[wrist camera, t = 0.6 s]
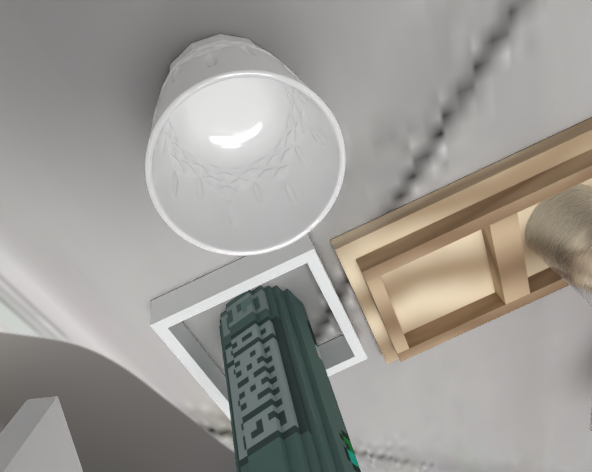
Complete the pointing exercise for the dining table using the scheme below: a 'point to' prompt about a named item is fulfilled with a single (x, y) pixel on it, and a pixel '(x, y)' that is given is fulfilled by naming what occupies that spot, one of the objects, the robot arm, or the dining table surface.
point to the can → (280, 388)
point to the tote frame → (235, 282)
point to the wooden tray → (461, 248)
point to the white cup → (241, 150)
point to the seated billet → (565, 236)
